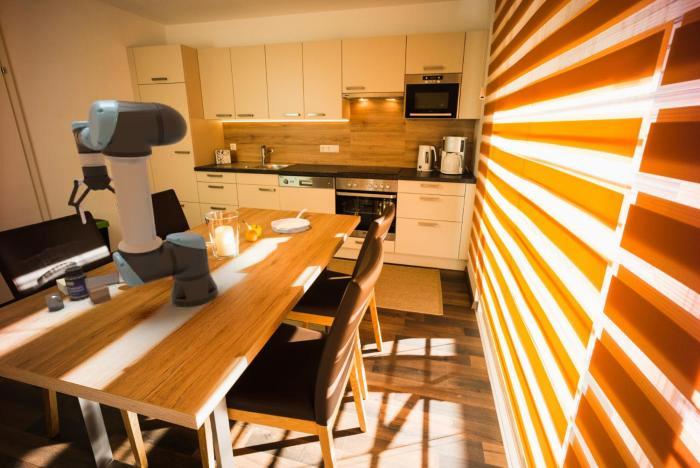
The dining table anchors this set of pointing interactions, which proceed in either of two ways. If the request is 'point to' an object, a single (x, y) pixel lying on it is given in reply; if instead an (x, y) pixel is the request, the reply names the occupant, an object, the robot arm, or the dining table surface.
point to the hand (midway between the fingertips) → (106, 220)
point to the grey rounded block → (54, 302)
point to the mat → (104, 279)
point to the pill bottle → (76, 283)
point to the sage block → (62, 286)
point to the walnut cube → (99, 293)
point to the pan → (291, 224)
